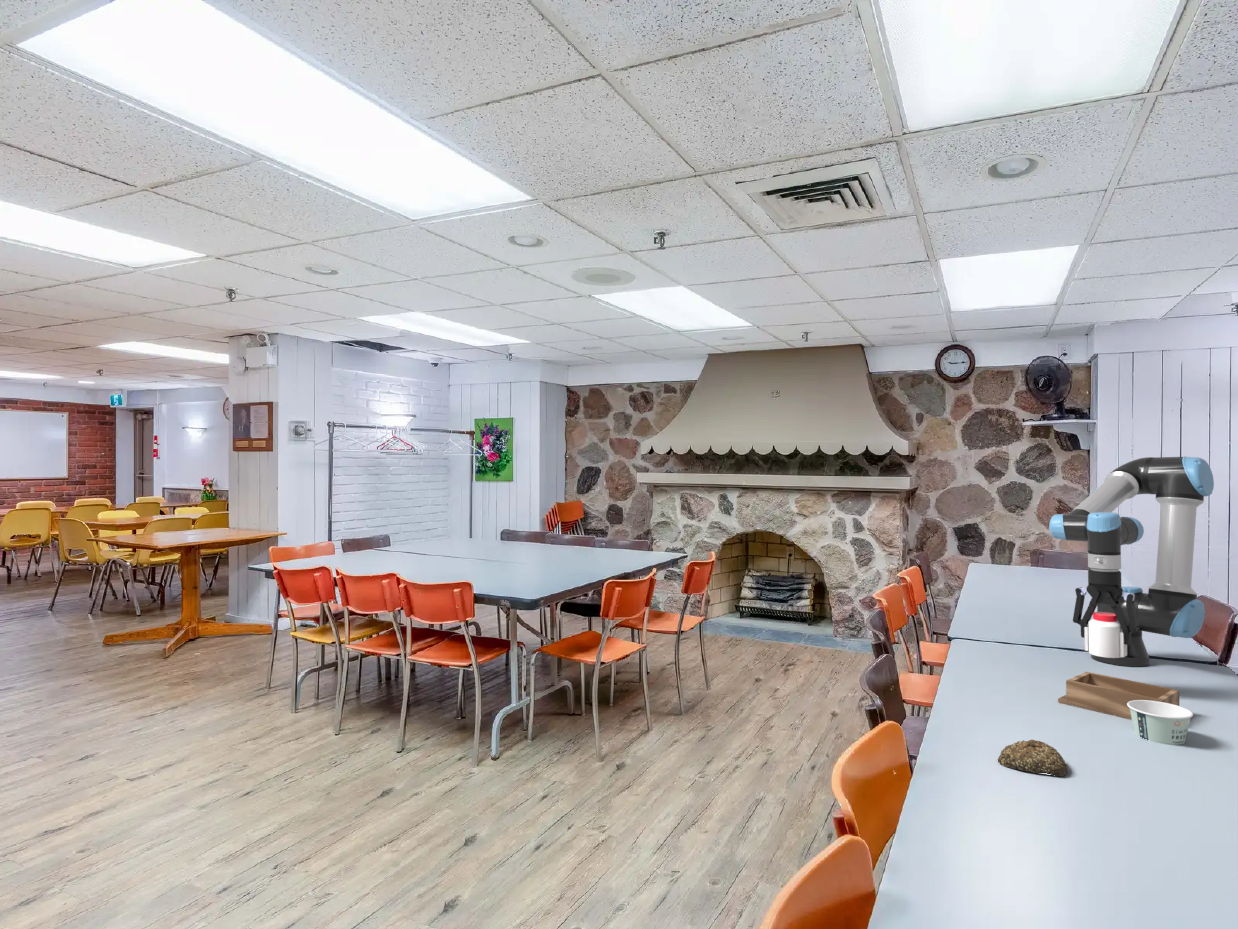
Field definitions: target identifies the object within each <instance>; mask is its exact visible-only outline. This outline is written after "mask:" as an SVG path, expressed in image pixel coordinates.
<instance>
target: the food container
mask: <svg viewBox="0 0 1238 929" xmlns="http://www.w3.org/2000/svg"><path fill="white" fill-rule="evenodd" d="M1127 706H1128V707H1129V708H1130V713H1131V718H1132V720H1131V722H1132V726H1133V727H1132V728H1133V732H1135V733H1134V734H1135V735H1136V736H1137V735H1138V736H1140V737H1142V738H1141V739H1143V738H1144V739H1143V740H1145V739H1147V740H1146V741H1148V740H1150V742H1153V743H1157V744H1162V745H1171V746H1172V745H1173V746H1174V745H1175V746H1177V745H1184V744H1185V743H1186V740H1187V735H1188V731H1189V725H1190V721H1191V718H1193V716H1194V713H1193V712H1192V711H1191V710H1189V709H1187V708H1185V707H1183V706H1180V705H1179V706H1177V705H1173V704H1169V703H1164V702H1158V701H1150V700H1133V701H1129V702H1128V703H1127ZM1138 736H1137V737H1138ZM1140 737H1139V738H1140Z"/></svg>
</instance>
